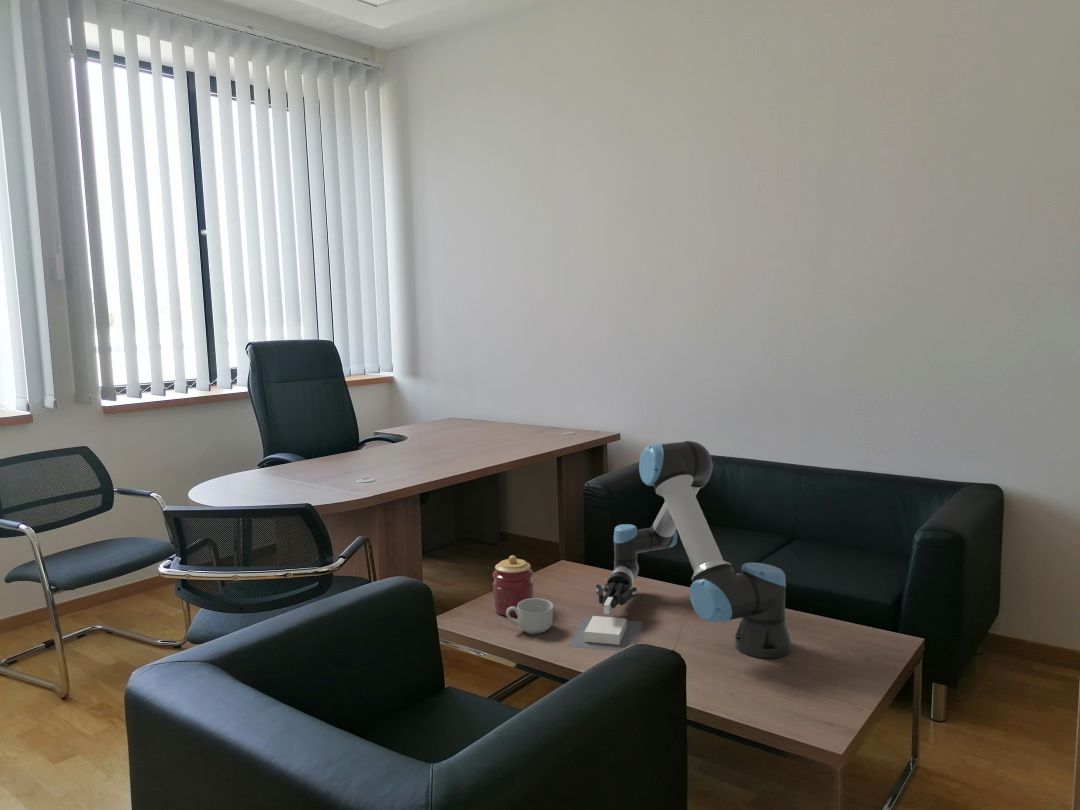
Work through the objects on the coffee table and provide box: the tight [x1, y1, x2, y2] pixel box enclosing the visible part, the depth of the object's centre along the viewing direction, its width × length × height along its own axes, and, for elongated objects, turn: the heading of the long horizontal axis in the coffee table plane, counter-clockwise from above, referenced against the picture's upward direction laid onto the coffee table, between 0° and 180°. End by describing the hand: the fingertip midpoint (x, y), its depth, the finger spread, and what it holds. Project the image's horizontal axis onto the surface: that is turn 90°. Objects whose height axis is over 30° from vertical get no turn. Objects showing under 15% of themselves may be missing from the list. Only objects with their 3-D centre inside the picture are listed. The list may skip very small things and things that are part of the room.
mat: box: [567, 616, 644, 652], centre depth 230 cm, size 22×18×1 cm
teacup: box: [505, 597, 554, 635], centre depth 234 cm, size 14×11×8 cm
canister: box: [492, 555, 534, 617], centre depth 251 cm, size 13×13×18 cm
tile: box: [584, 615, 627, 645], centre depth 228 cm, size 3×10×12 cm
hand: (606, 609), depth 229 cm, fingers closed
